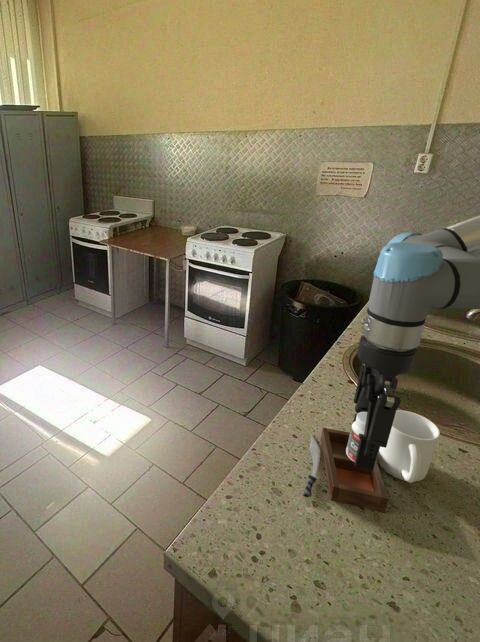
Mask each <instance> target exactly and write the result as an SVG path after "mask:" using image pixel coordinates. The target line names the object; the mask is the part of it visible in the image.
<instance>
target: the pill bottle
mask: <svg viewBox="0 0 480 642" xmlns="http://www.w3.org/2000/svg"><path fill="white" fill-rule="evenodd" d="M356 414H357V413H356ZM366 418H367V412H360V413H358V414H357V417H356V421H355V422H354V423H353V422H352V424H351V427H350V436H349V440H348V444H347V448H346V454H347V456H348V457H349V458H350V459H351V460H352V461H353V462H355V459H356V455H357V450H358V446H359V442H360V439H359V434H364V431H365V425H366ZM379 449H380V447H379ZM378 453H379V450H378ZM378 453H377V456H378ZM376 462H377V457H376V461H375V463H376Z"/></svg>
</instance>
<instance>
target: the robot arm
mask: <svg viewBox="0 0 480 642" xmlns="http://www.w3.org/2000/svg"><path fill="white" fill-rule="evenodd" d="M368 298H369V299H368V303H367V307H366V313H365V318H361V319H360V324H361V325H363V328H362V332H361V333H362V335H361V337H360V339H359V344H358V348H357V353H356V354H357V359H358V360H359V361H360V362H361V365H360V371H359V375H358V379H357V383H356V388H355V393H354V398H353V404H355V407H354V411H355V413H354V417H353V421H352V424H353V423H354V422H355V421H356V417H357V414H358V413H360V412H367V418H366V425H365V431H364V434H359V439H360V442H359V446H358V450H357V455H356V459H355V463H354V464H355V467H359V468H364V469H368V470H373V469H374V465H375V461H376V462H377V460H376V457H377V453H378V450H379V447H385V448H386V446H387V443H388V439H389V435H390V432H391V428H392V424H393V421H394V417H395V413H396V410H398V408H399V407H400V405H401V403H402V401H401V400H402V399H401V397H400V396H394V395H395V390H397V387H398V382H399V381H398V378H397V376H399V375H402V374H406V373H408V372H410V371H411V370H412V368H413V366H414V362H415V359H416V355H417V348H418V347H419V346H420V343H421V339H422V336H423V332H424V328H425V324H426V319H427V317H428V314H429V311H430V310H434V309H435V310H439V309H440V310H443V309H445V310H447V309H448V310H449V309H450V310H480V215H476V216H474V217H470V218H468V219H465V220H463V221H459V222H456V223H454V224H451V225H448V226H446V227H443V228H440V229H437V230H434V231H431V232H428V233H426V234H422V233H419V232H402V233H398V234H397V235H396V236H394V237H392V238H391V239H390V240H389V241H388V243H387V244H386V245H384V246H383V247H382V248H381V250H380V252H379V256H378V258H377V262H376V265H375V269H374V270H373V279H372V285H371V289H370V294H369V297H368Z"/></svg>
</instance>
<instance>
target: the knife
mask: <svg viewBox="0 0 480 642" xmlns="http://www.w3.org/2000/svg"><path fill="white" fill-rule="evenodd" d="M309 435H310V445H309V452H310V455H311V458H312V469H311V473H310V474H309V475H308V481H307V483H306V485H305V491H304V493H303V494H302V497H304V498H311V497H312V496H313V494H312V488H313V485H314V483H315V482H316V481H318V478H317V475H318V471H319V466H320V459H321V448H320V446H319V444H318V443H317V441H316V439H315V437H314V436H313V434H312V432H309Z"/></svg>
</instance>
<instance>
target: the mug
mask: <svg viewBox="0 0 480 642" xmlns="http://www.w3.org/2000/svg"><path fill="white" fill-rule="evenodd" d="M440 436H441V432H440V429H439V427H438V426H437V425H436V424H435V423H434V422H433V421H432V420H431V419H429V418H427V417H425V416H423V415H420V414H419V413H417V412H416V413H415V412H413V411H408V410H402V409H397V410H396V413H395V417H394V421H393V424H392V428H391V432H390V435H389V439H388V443H387V446H386V448H385V447H380V449H379V453H378V456H377V460H376V462H377V464H378V466H380V467H381V468H382V469H383V470H384V471H385V472H386V473H387V474H389V475H390V476H392V477H394V478H396V479H398V480H401V481H404V482H407V483H410V484H413V483H415V482H421V481H422V480H424V479H425V478H426V476H427V474H428V472H429V470H430V466H431V464H432V460H433V457H434V454H435V451H436V448H437V445H438V442H439V439H440Z"/></svg>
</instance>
